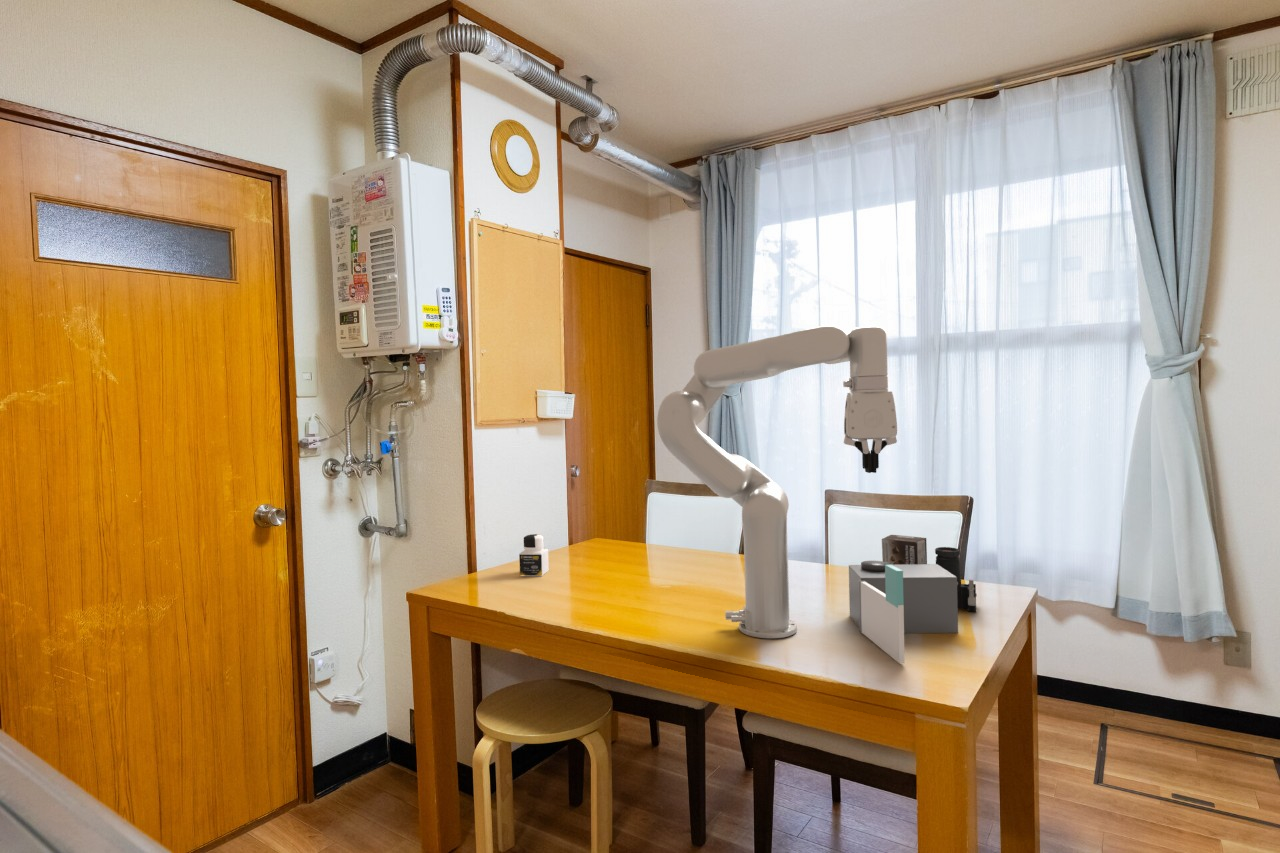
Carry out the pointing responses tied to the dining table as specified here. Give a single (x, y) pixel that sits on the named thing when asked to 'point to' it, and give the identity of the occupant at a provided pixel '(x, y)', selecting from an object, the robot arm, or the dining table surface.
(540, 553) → the medicine bottle
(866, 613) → the side door
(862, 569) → the plain gray box
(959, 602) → the scope
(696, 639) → the dining table surface
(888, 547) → the coffee box
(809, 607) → the dining table surface
